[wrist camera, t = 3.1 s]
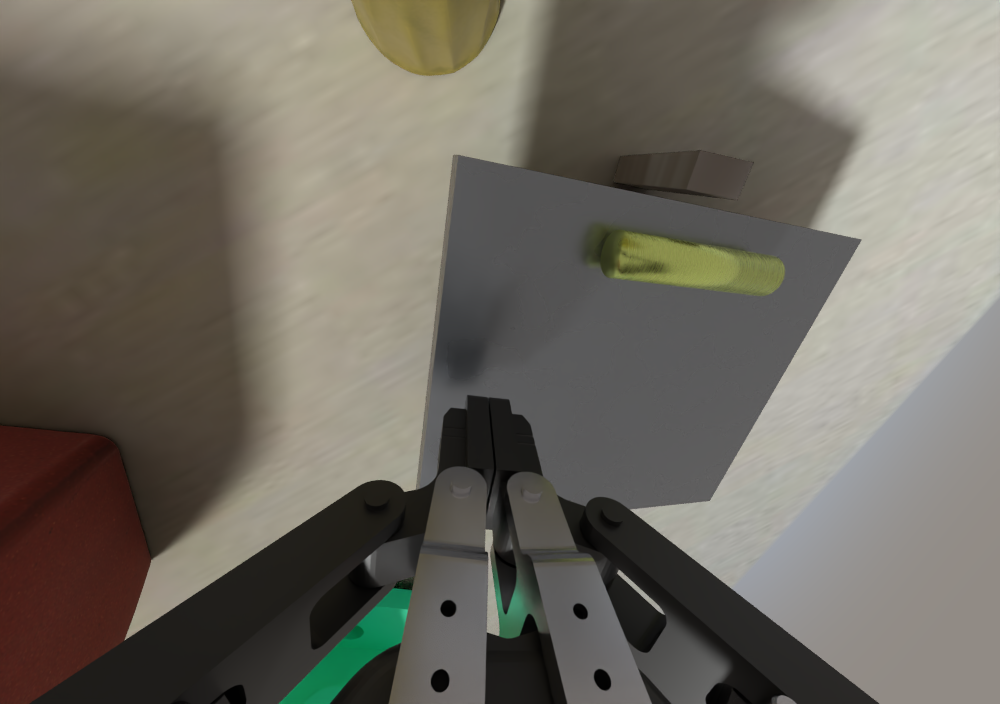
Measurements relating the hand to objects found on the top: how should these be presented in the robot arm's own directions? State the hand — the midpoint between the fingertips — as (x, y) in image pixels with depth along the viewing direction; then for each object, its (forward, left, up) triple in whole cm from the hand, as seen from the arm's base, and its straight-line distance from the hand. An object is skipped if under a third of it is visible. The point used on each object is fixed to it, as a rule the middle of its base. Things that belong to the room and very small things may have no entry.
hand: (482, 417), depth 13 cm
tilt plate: (+7, 0, -4) cm, 8 cm away
